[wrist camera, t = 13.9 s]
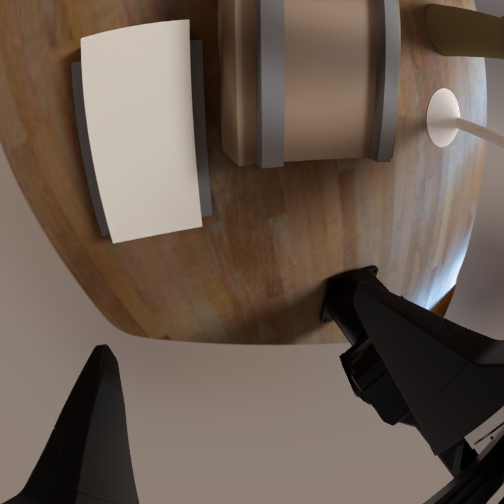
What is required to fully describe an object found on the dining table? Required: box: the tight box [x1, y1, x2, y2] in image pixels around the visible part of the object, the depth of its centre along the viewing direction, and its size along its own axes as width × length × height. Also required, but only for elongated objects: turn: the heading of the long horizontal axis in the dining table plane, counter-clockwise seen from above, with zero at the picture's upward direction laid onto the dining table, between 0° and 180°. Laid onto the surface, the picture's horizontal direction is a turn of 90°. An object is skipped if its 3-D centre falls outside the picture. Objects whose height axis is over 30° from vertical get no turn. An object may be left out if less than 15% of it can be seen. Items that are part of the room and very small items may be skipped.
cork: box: [425, 4, 504, 59], centre depth 11 cm, size 6×6×11 cm
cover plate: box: [81, 19, 202, 244], centre depth 14 cm, size 13×6×2 cm, turn 1°
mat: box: [71, 40, 213, 237], centre depth 15 cm, size 12×8×1 cm, turn 1°
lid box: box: [218, 0, 401, 169], centre depth 13 cm, size 13×11×5 cm
